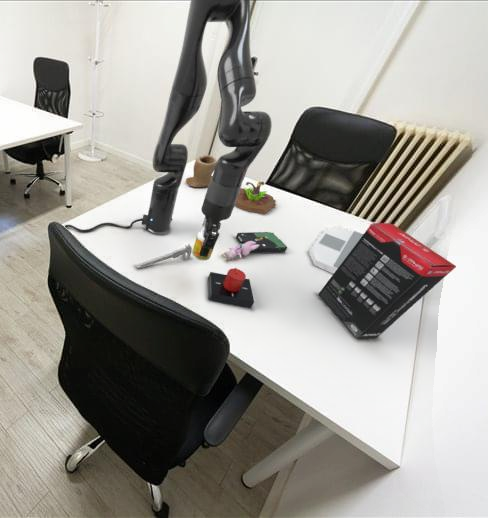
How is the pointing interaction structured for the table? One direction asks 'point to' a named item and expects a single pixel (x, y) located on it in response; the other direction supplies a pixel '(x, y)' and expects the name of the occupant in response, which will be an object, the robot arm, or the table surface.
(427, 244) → the laptop
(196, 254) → the supplement bottle
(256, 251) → the disk drive
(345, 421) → the table surface
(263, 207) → the plant
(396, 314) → the graphics card box
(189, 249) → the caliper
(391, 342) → the table surface
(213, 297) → the control panel
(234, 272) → the knob
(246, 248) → the pink creature figurine
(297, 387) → the table surface
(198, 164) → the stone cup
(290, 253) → the table surface
